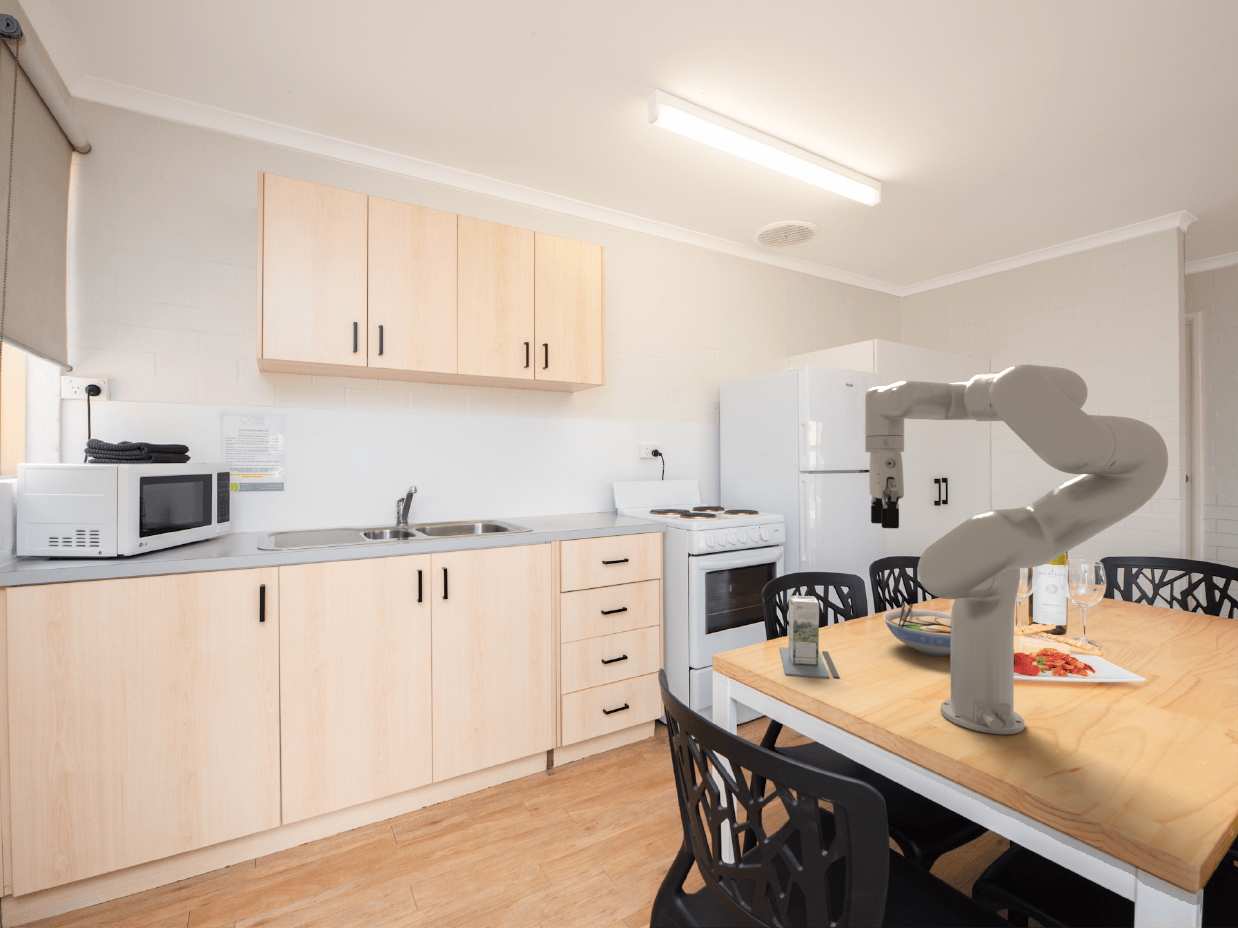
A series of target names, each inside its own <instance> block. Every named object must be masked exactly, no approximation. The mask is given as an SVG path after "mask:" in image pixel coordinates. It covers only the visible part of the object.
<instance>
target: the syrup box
mask: <svg viewBox="0 0 1238 928" xmlns="http://www.w3.org/2000/svg"><path fill="white" fill-rule="evenodd" d="M819 625H820V603H819V601H818V599H817V598H816V597H815V596H813V595H811V596H810V595H809V596H807V595H806V596H805V595H789V596H788V648H789V657H790V659H791V661H792V663H793V664H798V665H818V652H819V653H820V651H819V646H820V643H819V642H820V641H819V639H820V637H819V636H820V635H819V634H820V633H819V631H820V626H819Z"/></svg>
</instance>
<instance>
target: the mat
mask: <svg viewBox="0 0 1238 928" xmlns="http://www.w3.org/2000/svg"><path fill="white" fill-rule="evenodd" d="M779 651H780V656H781V661H782V665H783V666H782V667H783V671H784V675H785V676H791V677H792V676H793V677H805V678H806V677H807V678H820V679H830V675H829V672H828V670H827V668H826V664H825V663H824V660H823V658H822V656H821V653H820V651H819V652H818V665H798V664H793V663H792V661H791V659H790V657H789V647H782V646H779Z"/></svg>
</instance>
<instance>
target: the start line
mask: <svg viewBox="0 0 1238 928" xmlns="http://www.w3.org/2000/svg"><path fill="white" fill-rule="evenodd" d="M822 654H823V656H824V659H825V661H827V662H826V663H827V666H828V669H829V671H830V673H831V676H832V678H833V679H840V674H839V673H838V671H837V668H836V666H835V665H834V662H833V660H832V658H831V655H830V653H829V651H827V650H826V651H824V650H822Z"/></svg>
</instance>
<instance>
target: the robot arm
mask: <svg viewBox="0 0 1238 928" xmlns="http://www.w3.org/2000/svg"><path fill="white" fill-rule="evenodd" d="M1088 392H1089V391H1088V385H1087V383H1086V382H1085V380H1084V379H1083V378H1082V376H1081V375H1080V374H1079V373H1077V372H1075V371H1073V370H1071V369H1067V368H1064V367H1058V366H1048V365H1047V366H1046V365H1036V364H1019V365H1014V366H1011V367H1009V368H1007V369H1005V370H1003V371H992V372H982V373H979V374H976V375H974V376H973V377H972V378H971V379H970V380H969V381H963V382H962V381H961V382H934V381H933V382H931V381H917V380H901V381H898V382H895V383H892V384H889V385H887V386H886V385H885V386H875V387H871V388H868V389H867V391H866V392H865V399H864V400H865V403H864V405H865V408H864V409H865V418H864V419H865V420H864V421H865V426H864V427H865V428H864V429H865V430H864V431H865V432H864V434H865V441H864V444H865V447H864V450H865V453H869V455H870V456H869V475H868V477H869V480H868V484H869V495H870V496H871V500H870V504H871V505H870V523H872V524H877V525H879V524H881V528H882V529H899V528H900V503H899V501H900V500H902V499H903V498H904V497H905V487H904V486H905V485H904V468H903V467H904V465H903V457H902V453H904V452H905V420H906V419H907V420H908V419H909V420H928V421H929V420H931V421H956V420H957V421H958V420H959V421H960V420H961V421H962V420H963V421H966V420H968V421H969V420H971V421H972V420H974V421H976V422H1004V423H1005V424H1006V425H1007V426H1008V428H1009V429H1010V430H1011V431H1013V432H1014V434H1016V436H1018V437H1019V439H1020V440H1022V441H1023V442H1024V443H1025V444H1026V446H1028V447H1029V449H1031V450H1032V451H1033V452H1034V453H1035V454H1036V455H1037V456H1038V457H1039V458H1040V459H1041V460H1042V461H1044V462H1045V464H1047V466H1050V467H1052V468H1053V469H1055V470H1058V471H1060V472H1063V473H1066V474H1072V475H1078V476H1076V477H1075V476H1074V477H1073V478H1072V479H1070V480H1067V481H1065V482H1063V483H1060V484H1059V485H1057V486H1055V487H1054V488H1052V490H1050V491H1048V492H1047V493H1046V494H1045V495H1043V496H1042V497H1040V498H1038V499H1036V500H1035V501H1033V502H1031V503H1030V504H1027V505H1025V506H1022V507H1019V508H1007V509H1003V508H1001V509H992V510H986V511H983V512H982V511H981V512H980V513H978V514H975V515H973V516H970V517H969V518H967V519H966V520H964V521H963V522H962V523H960V524H959V525H958V526H956V527H954V528H953V529H952V530H950V531H948V533H946V534H945V535H943V536H942V537H940V538H939V539H938V540H936V541H935V542H933V543H932V544H931V545H930V546H928V547H927V548H926V549H925V551H923V552H922V554H921V556H920V558H919V560H918V564H917V578H918V580H919V583H920V584H921V586H922V587H923V588H924V589H925V590H926V591H927V592H928V593H930V594H931V595H932V596H935V597H936V598H940V599H943V600H954V601H953V603H952V608H951V655H950V699H946V700H944V701H942V703H940V712H941V713H940V714H942V716H944V718H946V720H948V721H950V722H952V723H953V724H956V725H958V726H961V727H962V728H963V727H964V728H966V729H968V730H972V731H976V732H980V733H985V734H991V735H1015V734H1018V733H1021V732H1022V731H1024V729H1025V720H1024V718H1023V717H1022V716H1021V715H1020V714H1019V713H1018V712H1016V711H1014V704H1015V703H1014V691H1015V690H1014V689H1015V688H1014V685H1015V684H1014V683H1015V682H1014V680H1015V679H1014V675H1015V674H1014V669H1015V668H1014V667H1015V666H1014V661H1015V660H1014V659H1015V658H1014V657H1015V656H1014V655H1015V653H1014V651H1015V650H1014V649H1015V647H1014V643H1015V639H1014V637H1015V611H1016V601H1017V597H1018V593H1019V588H1020V581H1021V569H1028V568H1036V567H1041V566H1043V565H1046V564H1049V563H1051V562H1053V561H1054V560H1055V559H1057V558H1059V557H1060V556H1062V555H1064V554H1065V553H1066V552H1069V551H1071V550H1072V549H1074V548H1076V547H1077V546H1080V545H1081V544H1083V543H1085V542H1086V541H1088V540H1090V539H1092V538H1093V537H1094V536H1096V535H1098V534H1100V533H1101V532H1103V531H1104V530H1107V529H1108V528H1110V527H1112V526H1114V525H1115V524H1118V523H1119V522H1120V521H1123V520H1124V519H1126V518H1127V517H1129V516H1130V515H1132V514H1134V513H1135V512H1136V511H1138V510H1139V509H1140V508H1141V507H1143V506H1145V504H1147V502H1149V501H1150V500H1151V499H1152V498H1153V497H1154V495H1155V494H1156V493H1157V492H1158V491H1159V489H1160V488H1161V486H1162V484H1163V482H1164V481H1165V477H1166V475H1167V471H1168V466H1169V453H1168V448H1167V445H1166V442H1165V440H1164V438H1163V437H1162V435H1161V434H1160V432H1159V431H1157V429H1156V428H1154V427H1153V426H1152V425H1150V424H1148V423H1146V422H1144V421H1141V420H1139V419H1135V418H1132V417H1128V416H1127V417H1125V416H1116V415H1096V414H1095V415H1094V414H1088V413H1086V412H1085V411H1083V410H1082V408H1083V406H1084V405H1085V403H1086V402H1087V398H1088Z"/></svg>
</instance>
